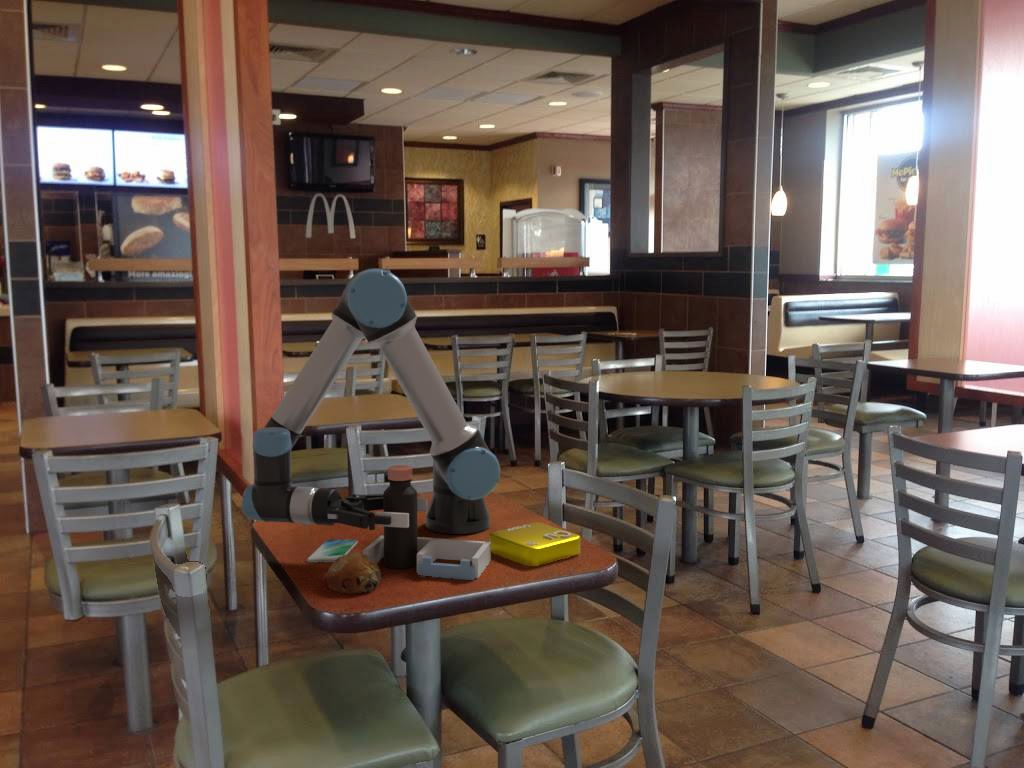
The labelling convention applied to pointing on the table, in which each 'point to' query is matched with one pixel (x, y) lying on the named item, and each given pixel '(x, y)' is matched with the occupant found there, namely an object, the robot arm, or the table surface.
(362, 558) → the bread roll
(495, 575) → the table surface
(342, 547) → the smartphone
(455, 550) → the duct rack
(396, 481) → the vinegar
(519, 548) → the element tile
